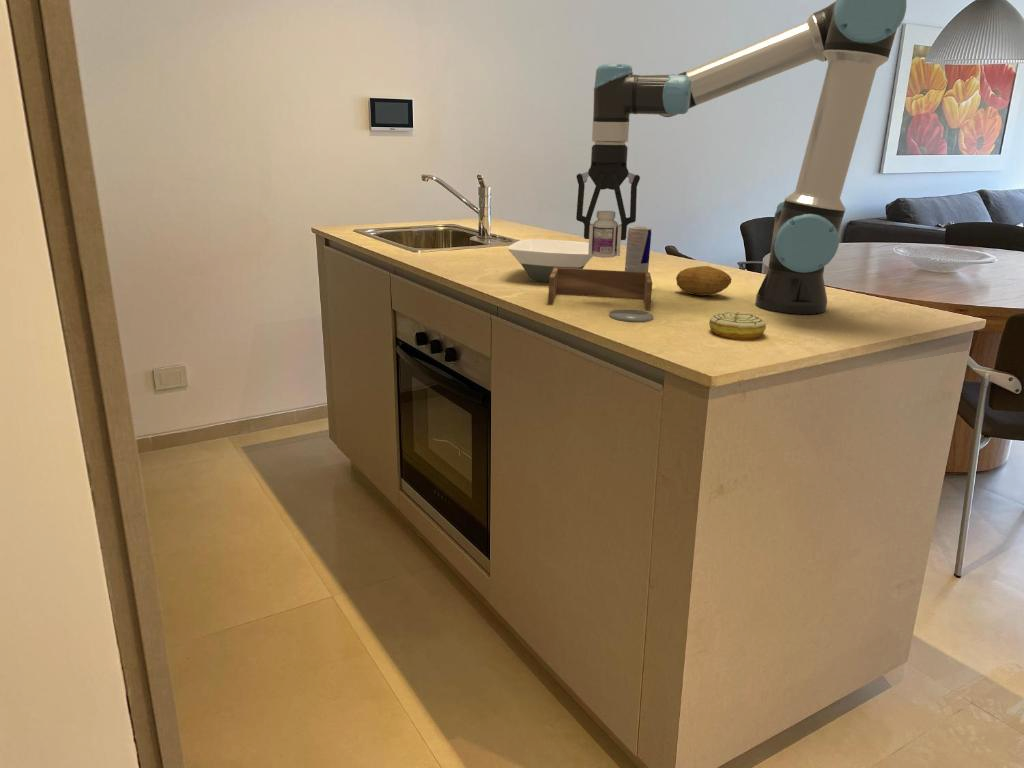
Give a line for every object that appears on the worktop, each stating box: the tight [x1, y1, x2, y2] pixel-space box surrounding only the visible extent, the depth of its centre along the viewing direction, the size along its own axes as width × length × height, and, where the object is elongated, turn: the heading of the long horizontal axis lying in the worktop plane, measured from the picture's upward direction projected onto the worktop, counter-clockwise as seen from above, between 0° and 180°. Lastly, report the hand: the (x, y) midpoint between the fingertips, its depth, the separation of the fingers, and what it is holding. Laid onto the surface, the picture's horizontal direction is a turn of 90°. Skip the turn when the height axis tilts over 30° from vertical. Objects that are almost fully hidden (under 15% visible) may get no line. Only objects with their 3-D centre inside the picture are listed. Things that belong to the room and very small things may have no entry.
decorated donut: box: [708, 311, 768, 340], centre depth 148 cm, size 10×11×4 cm
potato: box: [675, 265, 732, 296], centre depth 183 cm, size 9×13×7 cm
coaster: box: [609, 308, 654, 323], centre depth 159 cm, size 9×9×1 cm
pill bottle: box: [592, 210, 619, 259], centre depth 168 cm, size 5×5×10 cm
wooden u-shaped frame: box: [547, 267, 653, 312], centre depth 172 cm, size 14×22×6 cm, turn 83°
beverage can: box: [624, 225, 652, 272], centre depth 186 cm, size 6×6×15 cm
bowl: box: [507, 238, 594, 283], centre depth 197 cm, size 22×23×8 cm
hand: (604, 254), depth 169 cm, fingers closed on pill bottle, 5 cm apart
